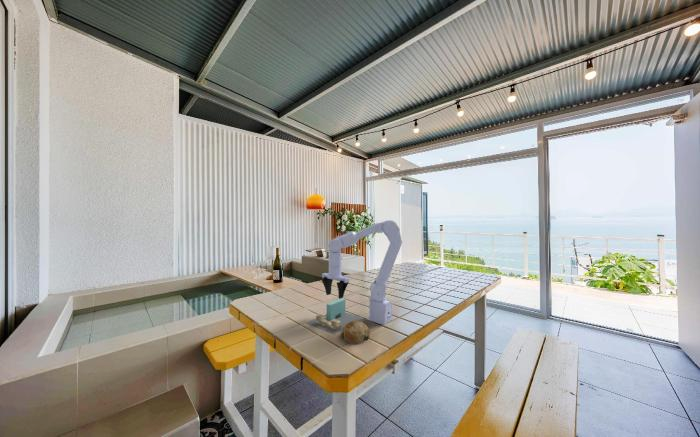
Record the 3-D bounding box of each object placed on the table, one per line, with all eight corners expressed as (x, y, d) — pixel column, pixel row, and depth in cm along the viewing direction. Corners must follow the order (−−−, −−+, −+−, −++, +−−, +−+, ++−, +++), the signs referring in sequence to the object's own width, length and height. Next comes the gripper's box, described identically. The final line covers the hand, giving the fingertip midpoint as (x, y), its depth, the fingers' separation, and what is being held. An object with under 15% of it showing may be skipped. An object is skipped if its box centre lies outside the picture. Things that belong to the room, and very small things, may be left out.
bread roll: (355, 357, 84) (364, 338, 83) (334, 337, 89) (342, 319, 88) (369, 344, 93) (377, 327, 91) (348, 327, 98) (356, 311, 96)
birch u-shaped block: (341, 328, 97) (341, 321, 97) (337, 330, 95) (337, 322, 96) (319, 321, 104) (319, 314, 104) (316, 322, 103) (316, 315, 103)
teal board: (345, 314, 112) (345, 299, 112) (330, 321, 104) (330, 305, 104) (341, 313, 113) (341, 298, 113) (326, 320, 105) (326, 304, 105)
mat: (364, 318, 108) (364, 317, 108) (334, 335, 92) (334, 334, 92) (336, 310, 118) (336, 309, 118) (305, 324, 102) (305, 323, 102)
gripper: (317, 264, 110) (316, 294, 110) (341, 269, 101) (340, 301, 101) (328, 262, 116) (328, 291, 116) (351, 266, 106) (351, 298, 106)
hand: (334, 296), depth 109 cm, fingers open, 7 cm apart
